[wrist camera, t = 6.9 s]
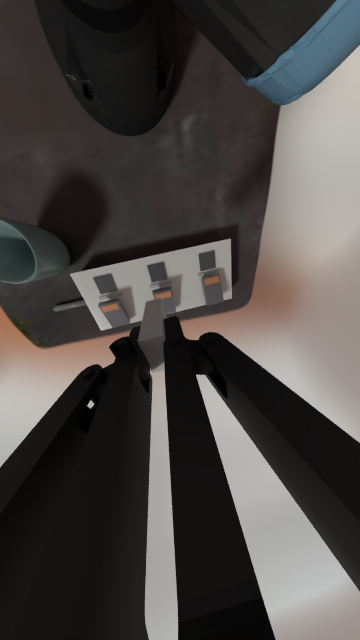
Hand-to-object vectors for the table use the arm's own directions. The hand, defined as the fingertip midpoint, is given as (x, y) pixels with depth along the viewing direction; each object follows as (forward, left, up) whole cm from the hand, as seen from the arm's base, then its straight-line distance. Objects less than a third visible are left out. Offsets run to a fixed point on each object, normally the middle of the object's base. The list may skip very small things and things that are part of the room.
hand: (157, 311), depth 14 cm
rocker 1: (+3, -9, -13) cm, 16 cm away
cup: (-9, -17, -19) cm, 27 cm away
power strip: (+1, -4, -19) cm, 19 cm away
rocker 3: (+3, +11, -13) cm, 17 cm away
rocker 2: (+3, +1, -13) cm, 13 cm away
